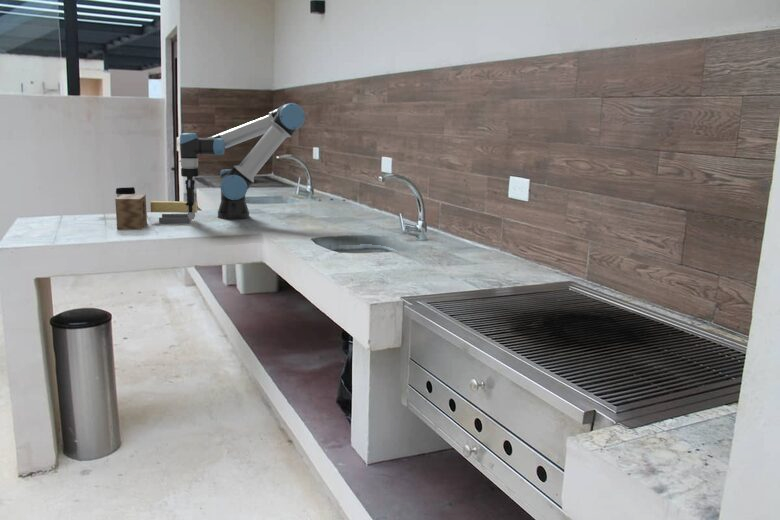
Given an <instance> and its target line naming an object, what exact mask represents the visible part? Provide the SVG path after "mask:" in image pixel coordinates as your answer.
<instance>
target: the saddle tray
mask: <svg viewBox="0 0 780 520" xmlns="http://www.w3.org/2000/svg"><path fill="white" fill-rule="evenodd" d="M191 221H192V219H189V218H188V213H162V214H161V217H158V224H159V225H190V224H191Z"/></svg>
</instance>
